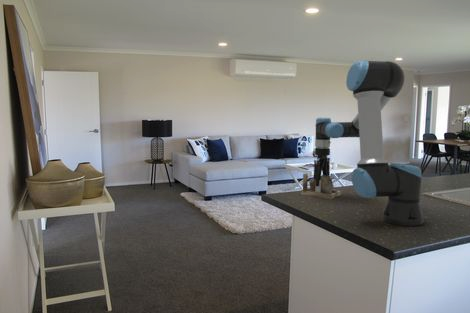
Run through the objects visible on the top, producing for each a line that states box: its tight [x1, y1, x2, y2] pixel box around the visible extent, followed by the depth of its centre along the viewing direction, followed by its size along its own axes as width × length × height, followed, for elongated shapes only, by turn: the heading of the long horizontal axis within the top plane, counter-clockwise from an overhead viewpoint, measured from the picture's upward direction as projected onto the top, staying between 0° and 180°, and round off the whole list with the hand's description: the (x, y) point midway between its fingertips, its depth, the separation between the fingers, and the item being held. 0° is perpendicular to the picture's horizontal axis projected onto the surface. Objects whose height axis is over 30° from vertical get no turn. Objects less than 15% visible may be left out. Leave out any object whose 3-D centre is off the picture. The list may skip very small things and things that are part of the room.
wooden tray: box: [300, 173, 343, 200], centre depth 198 cm, size 13×17×11 cm
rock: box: [308, 174, 335, 194], centre depth 198 cm, size 12×7×10 cm, turn 45°
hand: (321, 190), depth 199 cm, fingers closed on rock, 7 cm apart
